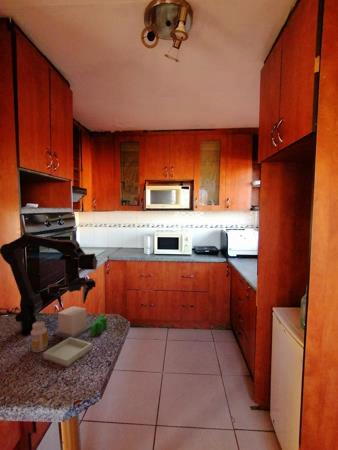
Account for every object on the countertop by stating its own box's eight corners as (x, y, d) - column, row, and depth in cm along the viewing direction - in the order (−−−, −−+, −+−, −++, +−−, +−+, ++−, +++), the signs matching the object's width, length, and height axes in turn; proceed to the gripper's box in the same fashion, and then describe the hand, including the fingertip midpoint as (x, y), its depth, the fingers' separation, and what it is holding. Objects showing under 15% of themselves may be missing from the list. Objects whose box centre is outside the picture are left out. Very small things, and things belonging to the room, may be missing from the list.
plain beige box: (53, 334, 103) (52, 313, 102) (73, 323, 113) (73, 304, 112) (72, 339, 98) (71, 318, 98) (92, 328, 108) (91, 308, 107)
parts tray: (43, 358, 86) (43, 352, 86) (70, 342, 96) (69, 337, 96) (67, 367, 81) (67, 360, 81) (92, 349, 91) (92, 343, 91)
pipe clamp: (99, 337, 100) (99, 326, 100) (90, 337, 101) (90, 326, 100) (109, 324, 111) (109, 314, 111) (101, 324, 112) (101, 314, 111)
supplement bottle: (46, 343, 96) (44, 318, 96) (49, 348, 92) (48, 323, 91) (30, 348, 93) (29, 323, 92) (33, 354, 89) (31, 328, 88)
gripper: (49, 277, 93) (50, 317, 94) (98, 270, 103) (99, 307, 104) (46, 271, 103) (48, 307, 104) (92, 265, 112) (92, 299, 113)
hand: (72, 305), depth 106 cm, fingers open, 9 cm apart
